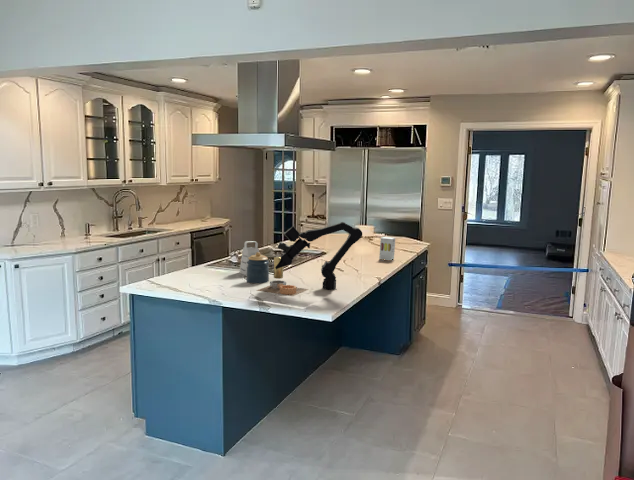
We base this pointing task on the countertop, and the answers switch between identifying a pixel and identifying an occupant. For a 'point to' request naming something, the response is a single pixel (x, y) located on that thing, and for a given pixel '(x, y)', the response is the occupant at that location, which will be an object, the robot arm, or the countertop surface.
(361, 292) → the countertop surface
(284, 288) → the ring
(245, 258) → the grater
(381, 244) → the supplement box
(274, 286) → the steel stand collar
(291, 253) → the robot arm
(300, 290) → the walnut board
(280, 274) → the brass shaft
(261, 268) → the canister
